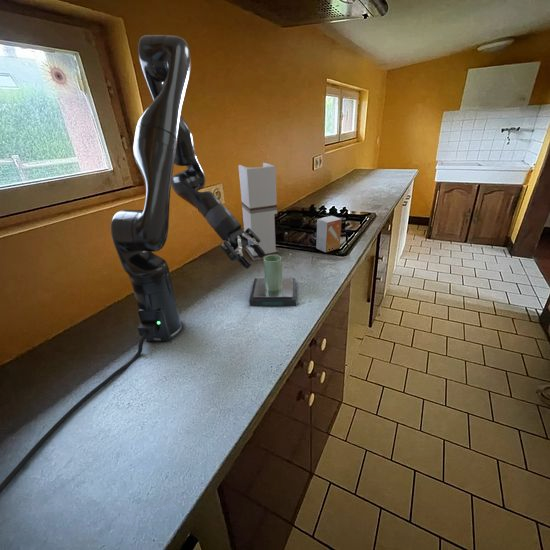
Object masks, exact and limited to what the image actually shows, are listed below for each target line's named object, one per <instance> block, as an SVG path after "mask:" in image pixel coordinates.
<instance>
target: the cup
mask: <svg viewBox="0 0 550 550" xmlns="http://www.w3.org/2000/svg"><path fill="white" fill-rule="evenodd" d="M282 263H283V262H282V256H281V255H280V254H279V255H267V256H265V257H264V259H263V272H264V273H263V275H264V278H265V288H266V289H267V290H269V291H277V290H280V289H281V288H282V278H283V267H282V266H283V265H282Z"/></svg>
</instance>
